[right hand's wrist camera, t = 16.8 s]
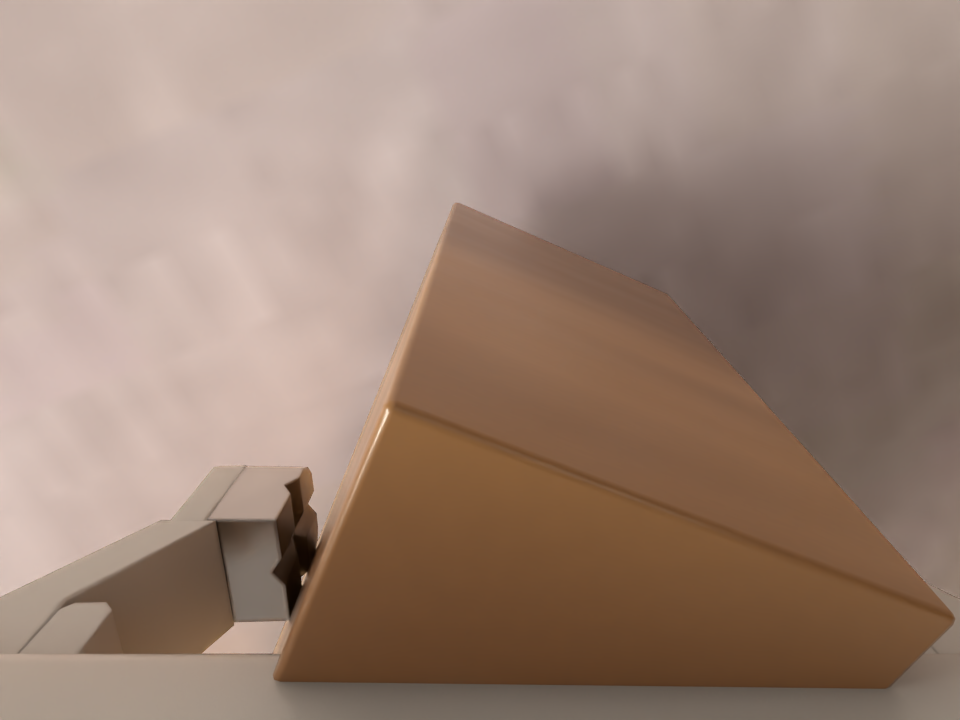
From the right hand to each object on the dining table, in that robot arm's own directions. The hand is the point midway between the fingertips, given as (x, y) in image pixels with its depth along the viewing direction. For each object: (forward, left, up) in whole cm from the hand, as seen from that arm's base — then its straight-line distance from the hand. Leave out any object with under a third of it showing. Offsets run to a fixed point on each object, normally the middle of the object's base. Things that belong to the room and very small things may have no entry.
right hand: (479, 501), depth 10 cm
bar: (+4, -6, -3) cm, 8 cm away
